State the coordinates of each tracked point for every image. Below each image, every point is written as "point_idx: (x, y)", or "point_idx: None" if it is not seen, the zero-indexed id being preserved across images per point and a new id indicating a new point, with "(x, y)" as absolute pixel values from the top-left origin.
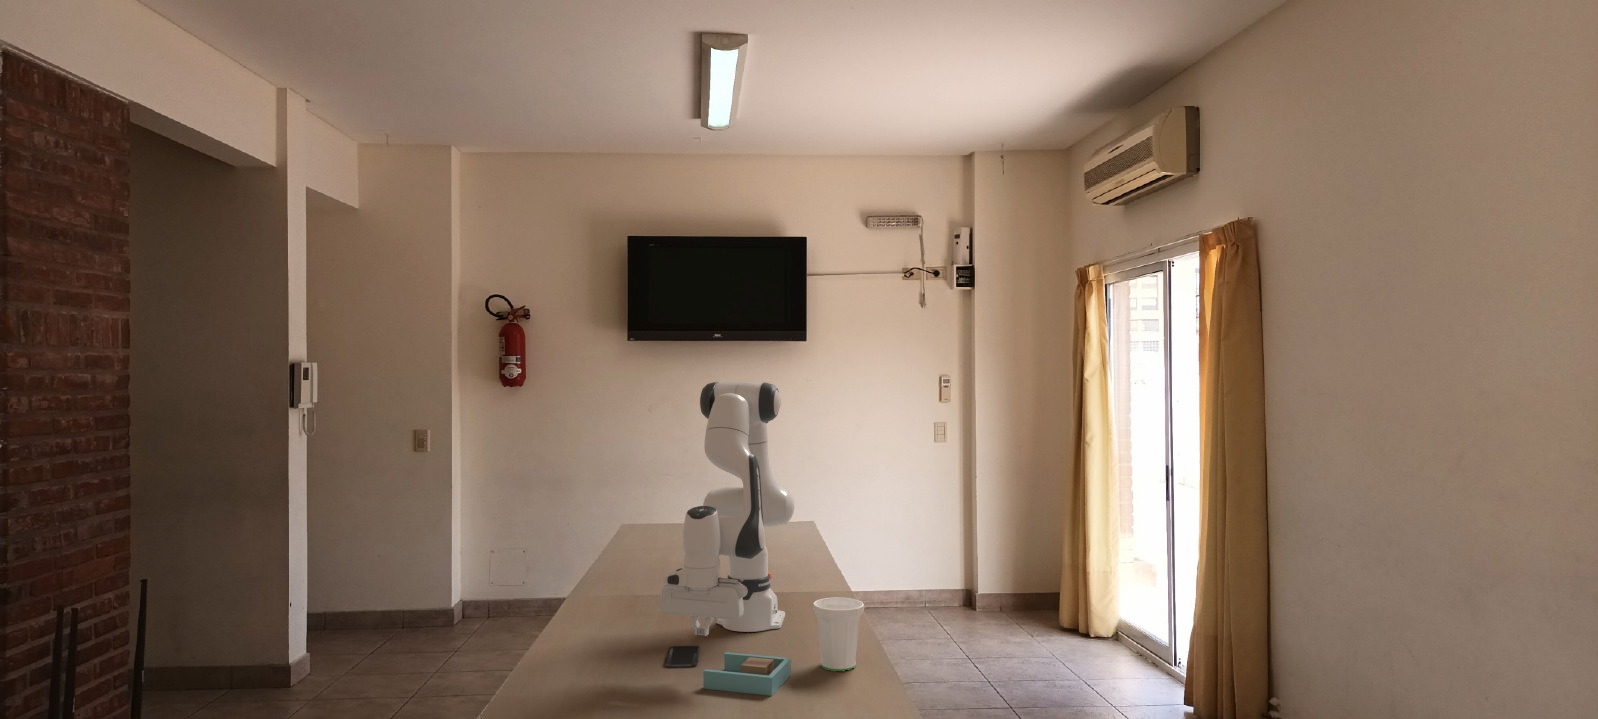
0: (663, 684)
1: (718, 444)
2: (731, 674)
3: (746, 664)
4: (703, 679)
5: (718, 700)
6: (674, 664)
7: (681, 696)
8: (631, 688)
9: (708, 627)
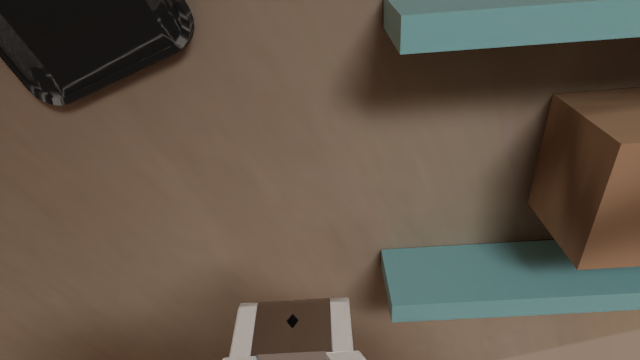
0: (213, 275)
1: None
2: (528, 312)
3: (609, 254)
4: (386, 292)
5: (472, 327)
6: (90, 89)
7: None
8: (139, 330)
9: (353, 351)
